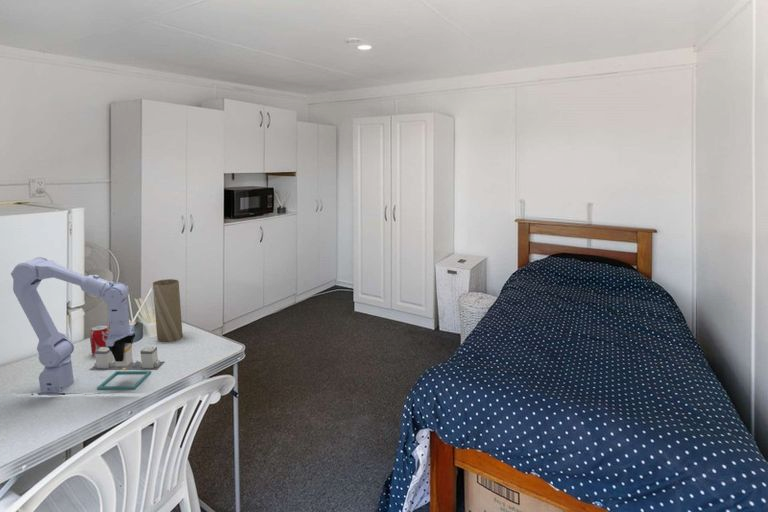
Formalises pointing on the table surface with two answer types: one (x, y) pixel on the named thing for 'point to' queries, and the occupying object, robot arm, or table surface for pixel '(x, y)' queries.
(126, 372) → the teal square frame
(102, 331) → the soda can
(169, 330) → the tube
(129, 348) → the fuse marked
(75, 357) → the table surface
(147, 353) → the block
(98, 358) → the block
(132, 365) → the fuse holder
